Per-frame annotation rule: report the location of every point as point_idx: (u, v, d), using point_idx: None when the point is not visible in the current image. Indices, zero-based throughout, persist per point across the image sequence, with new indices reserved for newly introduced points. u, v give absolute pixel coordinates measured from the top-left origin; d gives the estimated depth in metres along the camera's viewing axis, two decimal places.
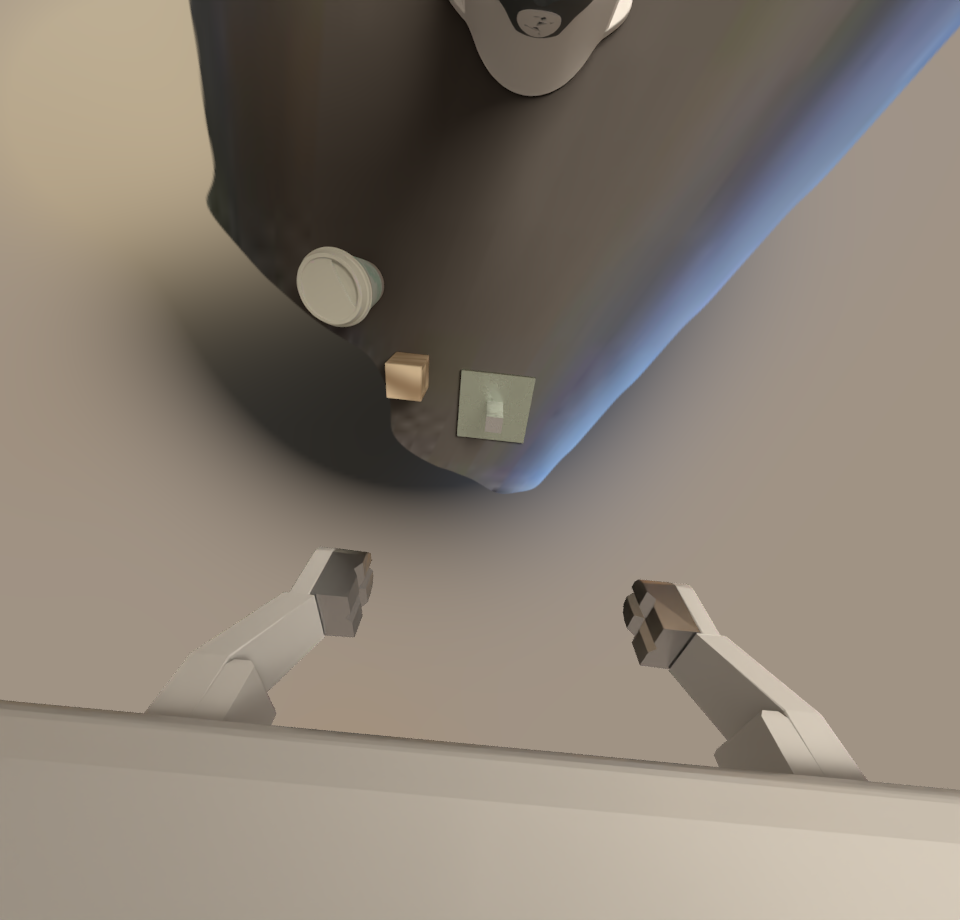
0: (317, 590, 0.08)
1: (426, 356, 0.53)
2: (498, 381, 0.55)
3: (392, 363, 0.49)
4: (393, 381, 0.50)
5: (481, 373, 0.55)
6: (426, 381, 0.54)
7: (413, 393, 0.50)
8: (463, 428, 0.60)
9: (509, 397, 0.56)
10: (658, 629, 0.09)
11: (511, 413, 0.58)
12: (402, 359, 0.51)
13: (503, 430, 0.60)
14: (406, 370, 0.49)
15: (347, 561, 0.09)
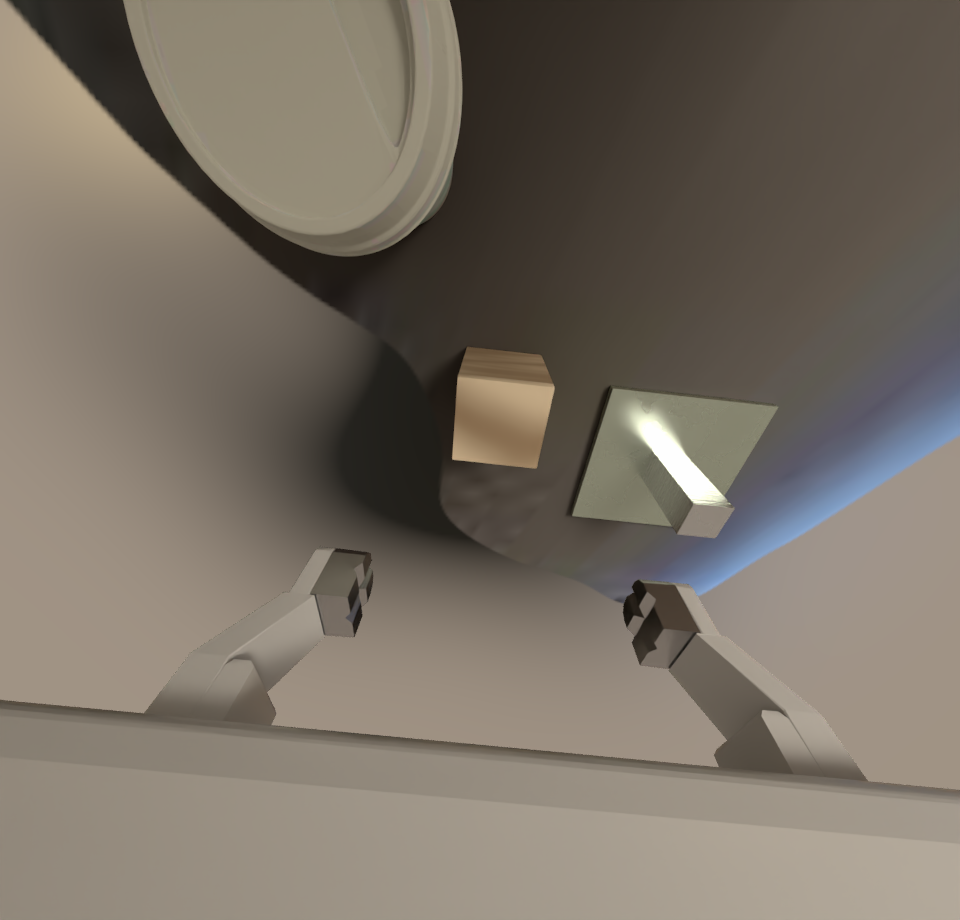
0: (317, 590, 0.08)
1: (538, 357, 0.23)
2: (690, 413, 0.25)
3: (476, 376, 0.18)
4: (473, 423, 0.19)
5: (656, 395, 0.24)
6: None
7: (521, 450, 0.20)
8: (589, 503, 0.30)
9: (704, 446, 0.26)
10: (658, 629, 0.09)
11: None
12: (494, 365, 0.20)
13: None
14: (513, 395, 0.18)
15: (347, 561, 0.09)
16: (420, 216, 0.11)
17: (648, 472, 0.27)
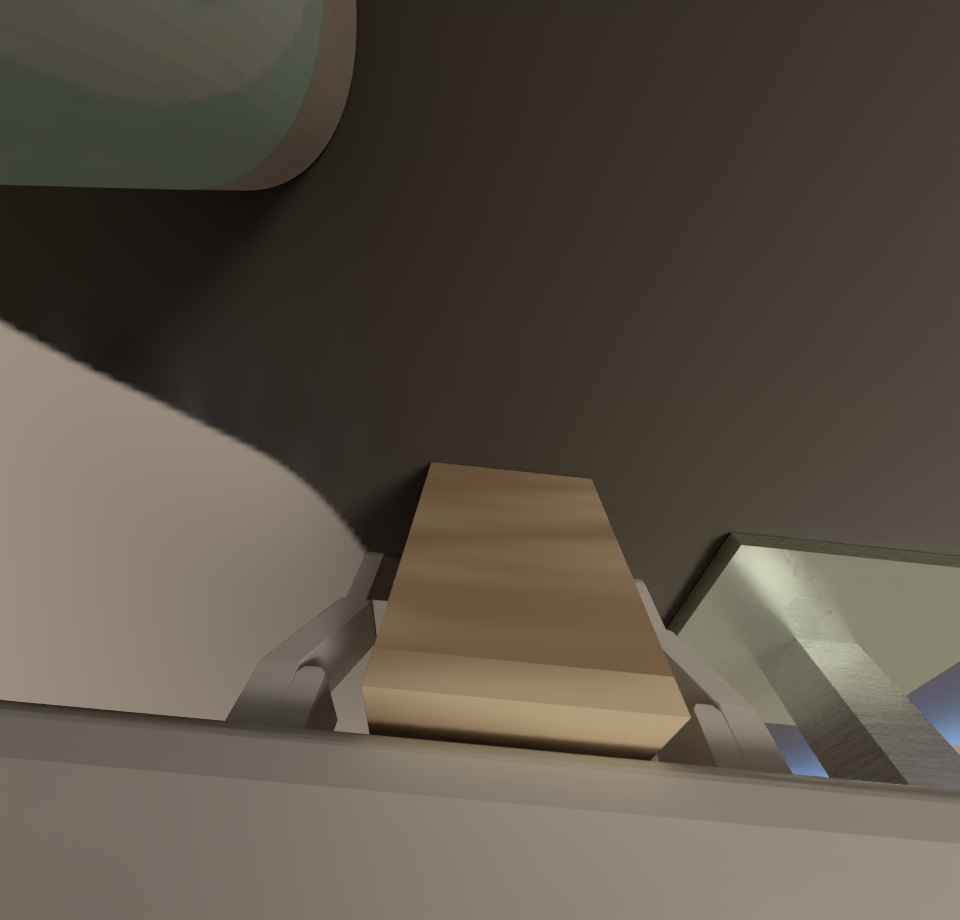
0: (373, 596, 0.09)
1: (587, 492, 0.10)
2: (893, 586, 0.12)
3: (428, 668, 0.06)
4: None
5: (831, 558, 0.12)
6: None
7: None
8: None
9: (899, 632, 0.13)
10: None
11: None
12: (488, 561, 0.08)
13: None
14: (548, 723, 0.06)
15: (398, 566, 0.09)
16: None
17: (781, 671, 0.14)
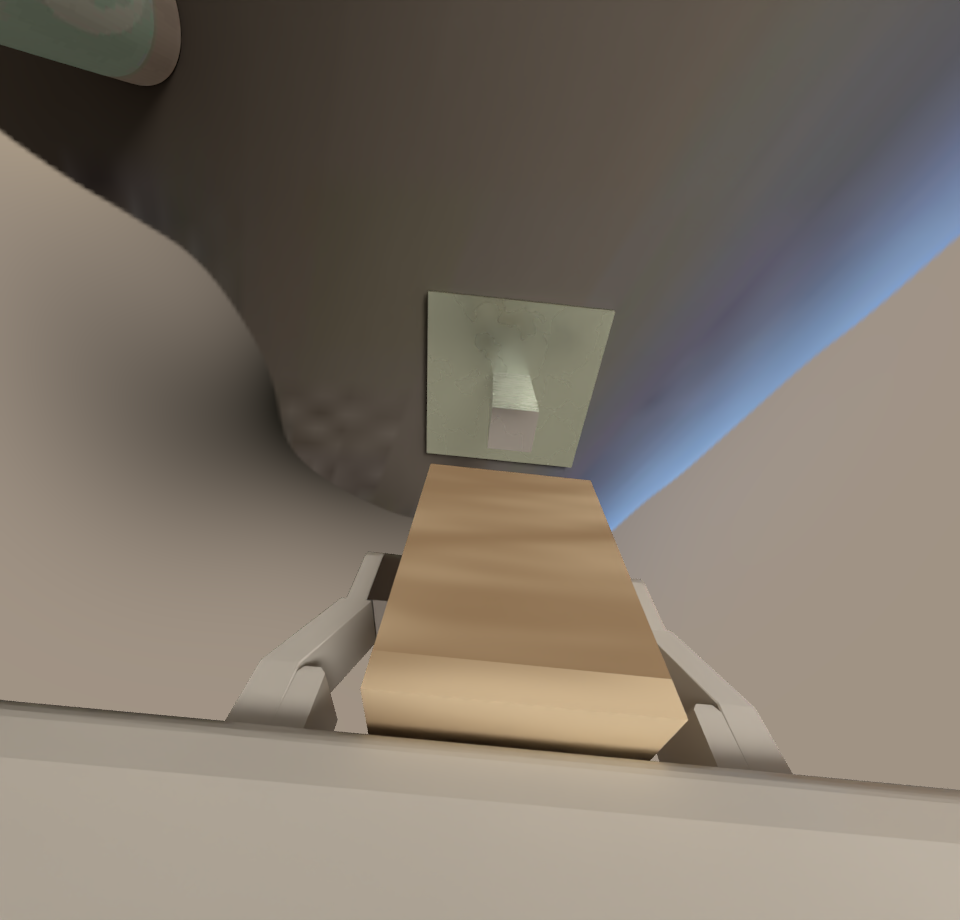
0: (373, 596, 0.09)
1: (586, 494, 0.10)
2: (521, 321, 0.22)
3: (426, 670, 0.06)
4: None
5: (478, 299, 0.22)
6: None
7: None
8: (440, 437, 0.27)
9: (546, 362, 0.24)
10: None
11: (549, 402, 0.25)
12: (487, 563, 0.08)
13: None
14: (546, 725, 0.06)
15: (398, 566, 0.09)
16: None
17: None
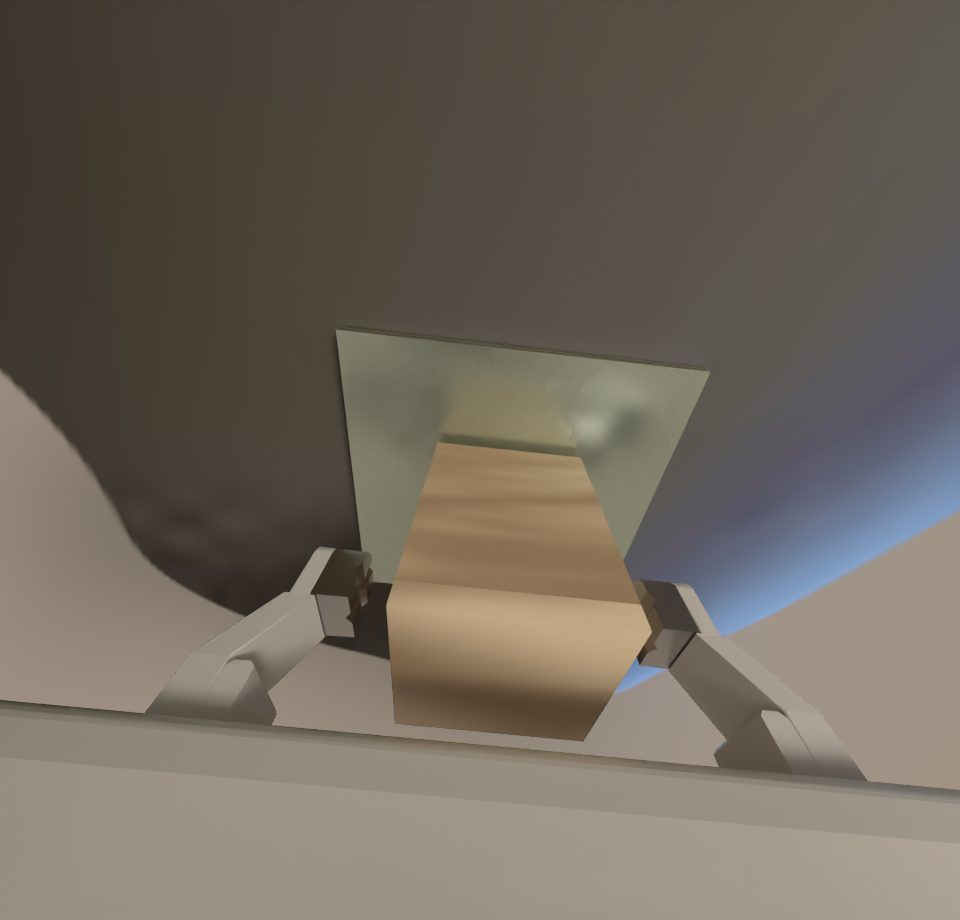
0: (317, 590, 0.08)
1: (577, 468, 0.12)
2: (522, 387, 0.11)
3: (439, 594, 0.07)
4: (438, 679, 0.08)
5: (437, 347, 0.11)
6: None
7: (551, 719, 0.09)
8: (386, 560, 0.16)
9: None
10: (658, 629, 0.09)
11: None
12: (488, 520, 0.09)
13: None
14: (537, 641, 0.07)
15: (347, 561, 0.09)
16: None
17: None
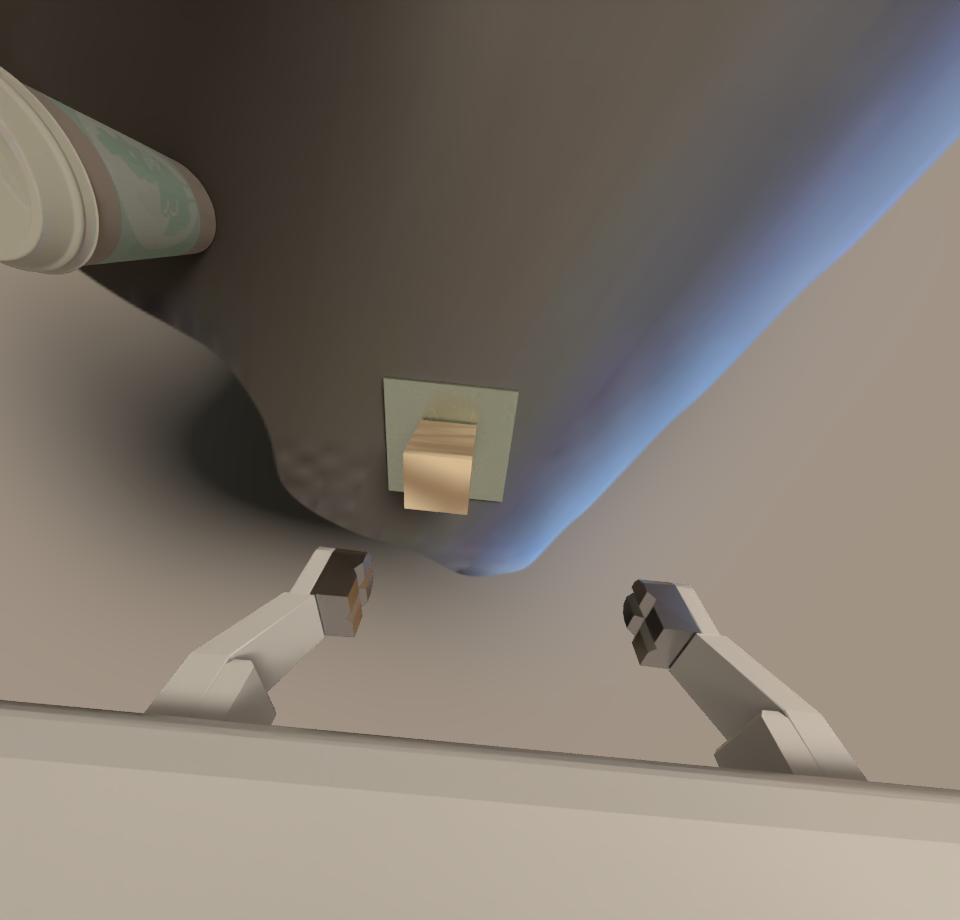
0: (317, 590, 0.08)
1: (473, 428, 0.30)
2: (451, 398, 0.30)
3: (417, 452, 0.26)
4: (417, 483, 0.27)
5: (419, 383, 0.30)
6: None
7: (454, 502, 0.27)
8: (399, 478, 0.35)
9: None
10: (658, 629, 0.09)
11: (478, 453, 0.33)
12: (434, 439, 0.28)
13: None
14: (443, 465, 0.26)
15: (347, 561, 0.09)
16: (90, 248, 0.17)
17: None
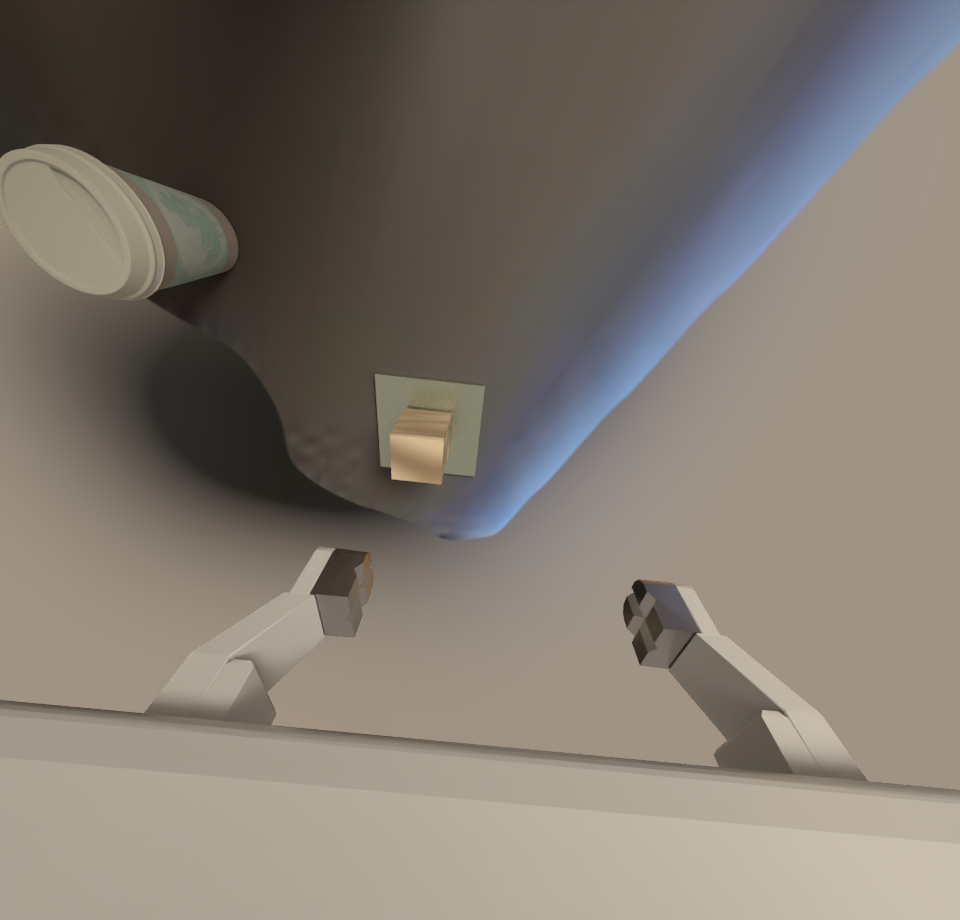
0: (317, 590, 0.08)
1: (448, 415, 0.38)
2: (430, 390, 0.37)
3: (400, 434, 0.33)
4: (401, 459, 0.34)
5: (404, 378, 0.37)
6: (447, 449, 0.38)
7: (430, 474, 0.35)
8: (388, 456, 0.42)
9: None
10: (658, 629, 0.09)
11: (454, 436, 0.40)
12: (415, 424, 0.35)
13: None
14: (421, 444, 0.33)
15: (347, 561, 0.09)
16: (157, 283, 0.24)
17: None
